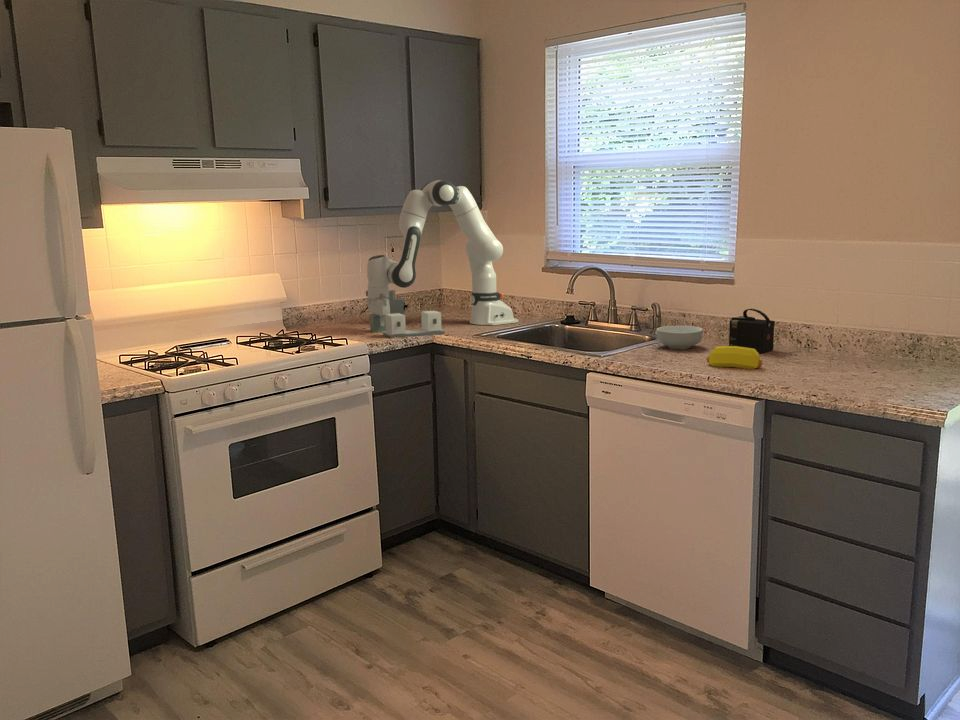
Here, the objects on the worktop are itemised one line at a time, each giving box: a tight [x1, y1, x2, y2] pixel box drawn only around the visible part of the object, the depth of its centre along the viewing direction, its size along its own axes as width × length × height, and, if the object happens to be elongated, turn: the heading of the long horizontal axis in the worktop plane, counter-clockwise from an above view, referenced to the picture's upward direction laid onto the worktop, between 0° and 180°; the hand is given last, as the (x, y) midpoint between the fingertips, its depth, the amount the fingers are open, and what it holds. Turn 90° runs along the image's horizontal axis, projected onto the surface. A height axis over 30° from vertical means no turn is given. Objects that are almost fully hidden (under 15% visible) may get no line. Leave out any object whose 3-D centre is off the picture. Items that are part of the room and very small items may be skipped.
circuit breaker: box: [386, 289, 409, 316], centre depth 381 cm, size 8×14×15 cm, turn 89°
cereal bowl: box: [656, 325, 704, 350], centre depth 307 cm, size 17×17×7 cm
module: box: [369, 313, 386, 333], centre depth 358 cm, size 7×5×8 cm
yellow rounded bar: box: [706, 345, 764, 370], centre depth 270 cm, size 18×7×8 cm
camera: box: [728, 308, 776, 354], centre depth 298 cm, size 11×14×15 cm
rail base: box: [382, 310, 446, 339], centre depth 347 cm, size 24×10×9 cm, turn 114°
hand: (379, 324), depth 358 cm, fingers open, 5 cm apart
